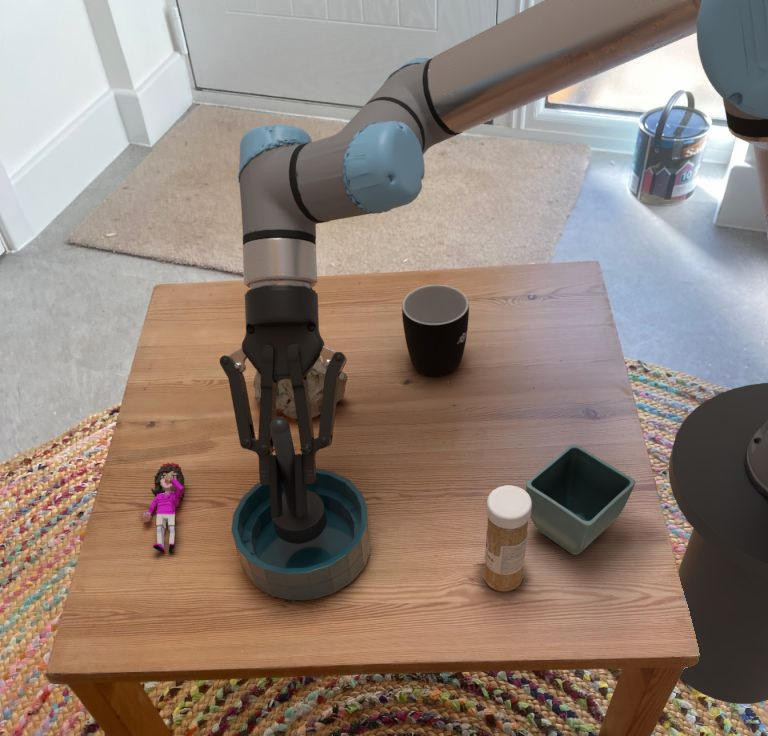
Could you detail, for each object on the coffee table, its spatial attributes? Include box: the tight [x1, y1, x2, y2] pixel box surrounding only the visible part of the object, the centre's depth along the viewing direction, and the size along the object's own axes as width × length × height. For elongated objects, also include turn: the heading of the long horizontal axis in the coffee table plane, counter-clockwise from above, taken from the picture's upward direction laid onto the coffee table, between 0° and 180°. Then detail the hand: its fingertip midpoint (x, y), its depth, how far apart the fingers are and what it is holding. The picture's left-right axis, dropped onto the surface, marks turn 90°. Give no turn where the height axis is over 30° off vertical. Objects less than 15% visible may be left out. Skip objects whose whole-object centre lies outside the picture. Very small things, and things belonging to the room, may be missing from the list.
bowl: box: [231, 467, 372, 601], centre depth 98 cm, size 15×15×6 cm
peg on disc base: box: [270, 416, 326, 544], centre depth 90 cm, size 6×6×16 cm
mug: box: [401, 284, 470, 378], centre depth 117 cm, size 12×9×10 cm
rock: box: [252, 356, 348, 420], centre depth 113 cm, size 12×7×10 cm, turn 76°
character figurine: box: [141, 462, 185, 554], centre depth 103 cm, size 6×5×12 cm
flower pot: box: [525, 443, 636, 556], centre depth 96 cm, size 9×9×9 cm
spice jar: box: [482, 484, 532, 592], centre depth 90 cm, size 5×5×14 cm
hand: (289, 515), depth 89 cm, fingers closed on peg on disc base, 2 cm apart
